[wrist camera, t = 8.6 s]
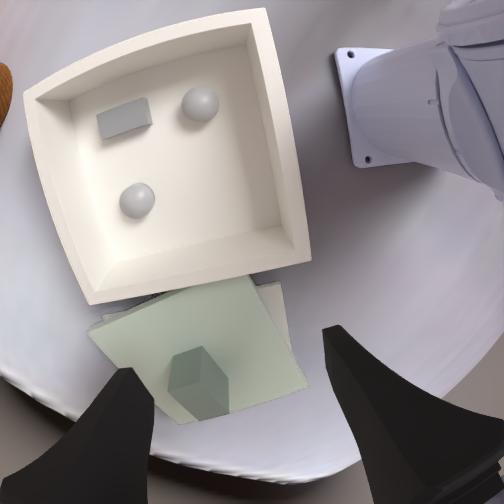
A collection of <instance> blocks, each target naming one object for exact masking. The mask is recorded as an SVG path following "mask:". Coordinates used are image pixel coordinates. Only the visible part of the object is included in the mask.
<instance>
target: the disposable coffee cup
mask: <svg viewBox="0 0 504 504" xmlns="http://www.w3.org/2000/svg"><path fill="white" fill-rule="evenodd" d="M11 96H12V76H11V73H10V70H9V69H8V67H7V66H6V65H5V64H3V63H0V126H1V124H2V123H3V121H4V118H5V116H6V114H7V112H8V109H9V106H10V101H11Z"/></svg>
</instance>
